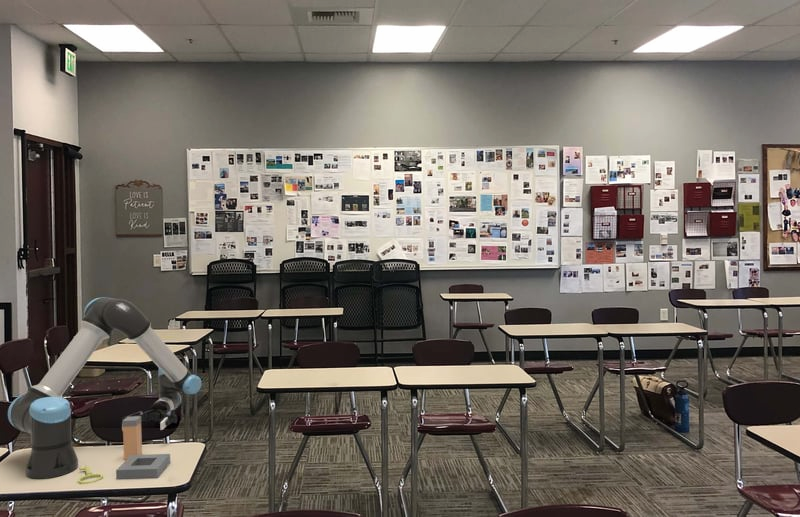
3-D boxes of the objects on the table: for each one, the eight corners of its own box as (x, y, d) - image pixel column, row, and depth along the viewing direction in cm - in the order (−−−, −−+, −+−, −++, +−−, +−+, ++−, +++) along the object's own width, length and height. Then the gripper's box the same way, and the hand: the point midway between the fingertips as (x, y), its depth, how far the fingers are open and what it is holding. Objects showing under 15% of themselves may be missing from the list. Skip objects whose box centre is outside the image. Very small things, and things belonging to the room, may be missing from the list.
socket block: (116, 479, 196) (116, 470, 196) (131, 463, 209) (131, 455, 209) (157, 477, 197) (157, 468, 197) (170, 462, 210) (170, 453, 210)
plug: (123, 460, 212) (122, 420, 212) (128, 455, 217) (127, 416, 216) (137, 460, 213) (136, 420, 212) (142, 455, 217) (141, 416, 217)
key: (87, 470, 205) (87, 464, 205) (105, 479, 197) (105, 473, 197) (65, 477, 199) (64, 471, 199) (83, 487, 192) (82, 481, 191)
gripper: (193, 417, 246) (177, 436, 224) (129, 419, 244) (107, 438, 223) (192, 399, 245) (176, 415, 224) (129, 401, 244) (106, 417, 223)
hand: (142, 427), depth 223 cm, fingers open, 13 cm apart
